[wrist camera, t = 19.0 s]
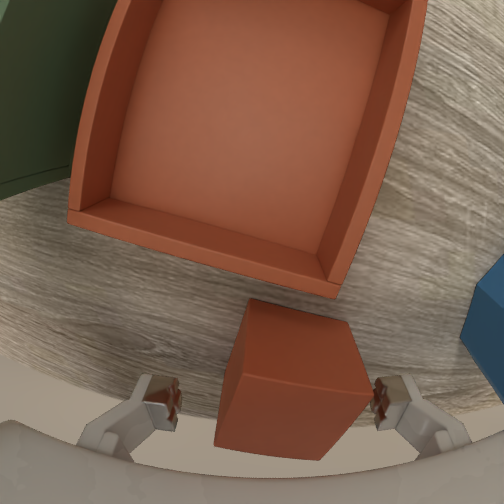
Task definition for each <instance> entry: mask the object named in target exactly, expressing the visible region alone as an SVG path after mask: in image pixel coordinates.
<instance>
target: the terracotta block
mask: <svg viewBox="0 0 504 504" xmlns="http://www.w3.org/2000/svg"><path fill="white" fill-rule="evenodd" d="M373 397H374V392H373V389H372V386H371V384H370V381H369V378H368V375H367V372H366V370H365V367H364V364H363V361H362V359H361V356H360V353H359V351H358V348H357V345H356V343H355V340H354V338H353V335H352V332H351V330H350V327H349V325H348V323H347V322H344V321H340V320H336V319H331V318H327V317H323V316H319V315H315V314H310V313H306V312H302V311H298V310H294V309H290V308H286V307H282V306H278V305H274V304H270V303H266V302H263V301H259V300H255V299H249V301H248V304H247V307H246V310H245V313H244V316H243V319H242V322H241V325H240V328H239V332H238V335H237V338H236V341H235V344H234V347H233V350H232V353H231V356H230V359H229V362H228V364H227V367H226V370H225V375H224V381H223V387H222V393H221V400H220V406H219V412H218V419H217V425H216V431H215V438H214V446H215V447H220V448H225V449H230V450H235V451H241V452H247V453H253V454H260V455H267V456H274V457H282V458H292V459H303V460H317V461H318V460H320V459H321V458H322V457H323V456H324V455H325V454H326V453H327V452H328V451H329V450H330V449H331V448H332V447H333V445H334V444H335V443H336V442H337V441H338V440H339V439H340V437H341V436H342V435H343V434H344V433H345V432H346V431H347V429H348V428H349V427H350V426H351V425H352V423H353V422H354V421H355V420H356V419H357V417H358V416H359V415H360V414H361V412H362V411H363V410H364V409H365V407H366V406H367V405H368V403H369V402H370V401H371V400H372V398H373Z"/></svg>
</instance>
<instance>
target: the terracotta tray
mask: <svg viewBox="0 0 504 504" xmlns="http://www.w3.org/2000/svg"><path fill="white" fill-rule="evenodd" d="M427 2H428V0H118V1H117V3H116V6H115V8H114V10H113V13H112V15H111V18H110V20H109V23H108V26H107V28H106V31H105V34H104V36H103V39H102V42H101V45H100V48H99V51H98V54H97V57H96V61H95V64H94V67H93V71H92V74H91V78H90V81H89V85H88V89H87V93H86V97H85V101H84V105H83V109H82V114H81V119H80V123H79V128H78V134H77V139H76V145H75V151H74V157H73V164H72V172H71V180H70V189H69V199H68V208H69V209H68V213H67V223H68V224H71V225H74V226H77V227H80V228H83V229H87V230H90V231H93V232H96V233H100V234H103V235H106V236H109V237H113V238H116V239H119V240H122V241H126V242H129V243H132V244H136V245H139V246H142V247H146V248H149V249H153V250H156V251H159V252H163V253H166V254H170V255H173V256H177V257H180V258H183V259H187V260H190V261H194V262H197V263H201V264H204V265H208V266H212V267H215V268H219V269H222V270H226V271H229V272H233V273H237V274H240V275H244V276H248V277H251V278H255V279H259V280H262V281H266V282H270V283H273V284H277V285H281V286H285V287H288V288H292V289H296V290H300V291H304V292H307V293H311V294H315V295H319V296H323V297H327V298H331V299H336V297H337V295H338V292H339V290H340V288H341V285H342V284H343V281H344V279H345V277H346V275H347V272H348V270H349V268H350V265H351V263H352V260H353V258H354V256H355V253H356V251H357V248H358V246H359V243H360V241H361V238H362V236H363V233H364V231H365V228H366V226H367V223H368V221H369V218H370V215H371V213H372V210H373V207H374V204H375V202H376V199H377V196H378V193H379V191H380V188H381V185H382V182H383V179H384V176H385V173H386V170H387V167H388V164H389V161H390V158H391V155H392V152H393V148H394V145H395V142H396V139H397V135H398V132H399V129H400V125H401V122H402V118H403V115H404V111H405V107H406V104H407V100H408V96H409V92H410V88H411V84H412V80H413V76H414V71H415V67H416V63H417V58H418V53H419V49H420V44H421V38H422V33H423V28H424V22H425V16H426V10H427Z"/></svg>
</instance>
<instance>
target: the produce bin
mask: <svg viewBox="0 0 504 504" xmlns="http://www.w3.org/2000/svg"><path fill="white" fill-rule="evenodd" d="M117 1H118V0H0V200H3V199H6V198H8V197H11V196H14V195H16V194H19V193H22V192H25V191H28V190H30V189H33V188H36V187H39V186H42V185H45V184H49V183H52V182H55V181H58V180H61V179H65V178H68V177H71V172H72V164H73V157H74V151H75V145H76V139H77V134H78V128H79V123H80V119H81V114H82V109H83V105H84V101H85V97H86V93H87V89H88V85H89V81H90V78H91V74H92V71H93V67H94V64H95V61H96V57H97V54H98V51H99V48H100V45H101V42H102V39H103V36H104V34H105V31H106V28H107V26H108V23H109V20H110V18H111V15H112V13H113V10H114V8H115V6H116V3H117Z"/></svg>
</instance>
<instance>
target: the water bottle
mask: <svg viewBox="0 0 504 504" xmlns="http://www.w3.org/2000/svg"><path fill="white" fill-rule="evenodd" d="M460 338H461V340H462V342H463V343H464V345H465V346H466V348H467V350H468V351H469V353H470V355H471V356H472V358H473V360H474V361H475V363H476V364H477V366H478V367H479V368H480V370H481V371H482V373H483V374H484V376H485V377H486V379H487V380H488V381H489V383H490V384H491V386H492V387H493V389H494V390H495V392H496V393H497V395H498V396H499V398H500V400H501V401H502V403H503V404H504V254H503V256H502V257H501V258H500V259H499V260H498V261H497V263H496V264H495V265H494V266H493V267H492V268H491V269H490V271H489V272H488V273H487V274H486V275H485V276H484V277H483V278H482V279H481V280H480V281H479V283H478V284H477V285H476V289H475V292H474V296H473V299H472V303H471V306H470V309H469V312H468V315H467V318H466V321H465V324H464V327H463V330H462V333H461V335H460Z"/></svg>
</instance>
